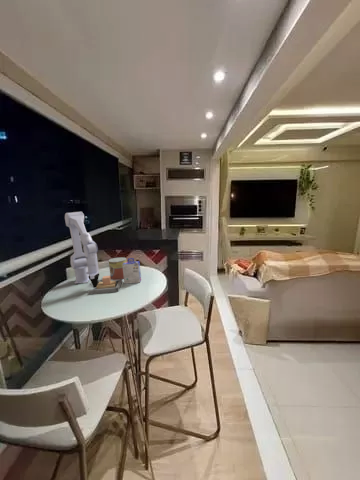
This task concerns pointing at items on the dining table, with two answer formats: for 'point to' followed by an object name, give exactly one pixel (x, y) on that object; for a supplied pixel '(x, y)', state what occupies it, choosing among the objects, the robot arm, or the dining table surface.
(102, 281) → the dock
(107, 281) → the salmon pink cube
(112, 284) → the pallet
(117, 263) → the canned food
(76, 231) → the robot arm
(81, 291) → the dining table surface
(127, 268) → the ink cartridge box
